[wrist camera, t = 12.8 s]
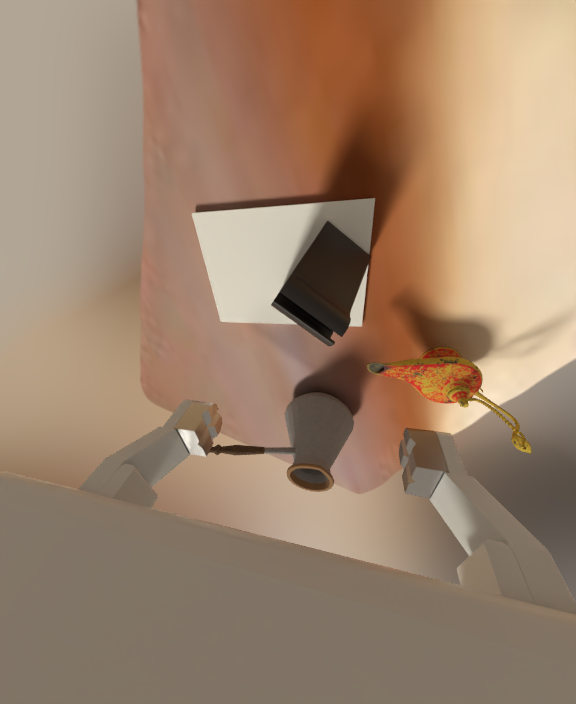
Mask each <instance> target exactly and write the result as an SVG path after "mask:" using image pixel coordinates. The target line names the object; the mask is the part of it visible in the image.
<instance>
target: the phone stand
mask: <svg viewBox="0 0 576 704" xmlns="http://www.w3.org/2000/svg"><path fill="white" fill-rule="evenodd" d="M370 258H371V256H370V255H369V254H368V253H367V252H365V251H364V250H363V249H362V248H361V247H359V246H358V245H357V244H356V243H354V242H353V241H352V240H351V239H350V238H348V237H347V236H346V235H345V234H343V233H342V232H341V231H340V230H339V229H337V228H336V227H335V226H334V225H333V224H331V223H330V222H329V221H327V222H326V223H325V225H324V226H323V228H322V229H321V231H320V232H319V234H318V235H317V237H316V238H315V240H314V241H313V243H312V244H311V245H310V247H309V248H308V250H307V251H306V253H305V254H304V256H303V257H302V259H301V260H300V262H299V263H298V264H297V266H296V267H295V269H294V270H293V272H292V273H291V275H290V276H289V278H288V279H287V281H286V282H285V284H284V285H283V286H282V288H281V290H280V291H279V293H278V295H277V296H276V298H275V299H274V301H273V302H272V304H271V306H272V307H274V308H275V309H277V310H278V311H279V312H281V313H282V314H284V315H285V316H287V317H288V318H289V319H291V320H292V321H294V322H295V323H296V324H298V325H299V326H301V327H302V328H303V329H305V330H306V331H308V332H309V333H311V334H312V335H313V336H315V337H316V338H318V339H319V340H320V341H322V342H323V343H325V344H326V345H327V346H332V345H334V343H335V342H334V341H333V340H332V339H330V338H331V335H332V334H333V332H335V333H337V334H338V335H340V336H341V337H342V336H343V335H344V333H345V332H346V330H347V329H348V327H349V325H350V322H351V318H350V312H351V309H352V306H353V303H354V301H355V298H356V295H357V293H358V290H359V288H360V285H361V282H362V280H363V277H364V274H365V272H366V269H367V266H368V264H369V261H370Z"/></svg>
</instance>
